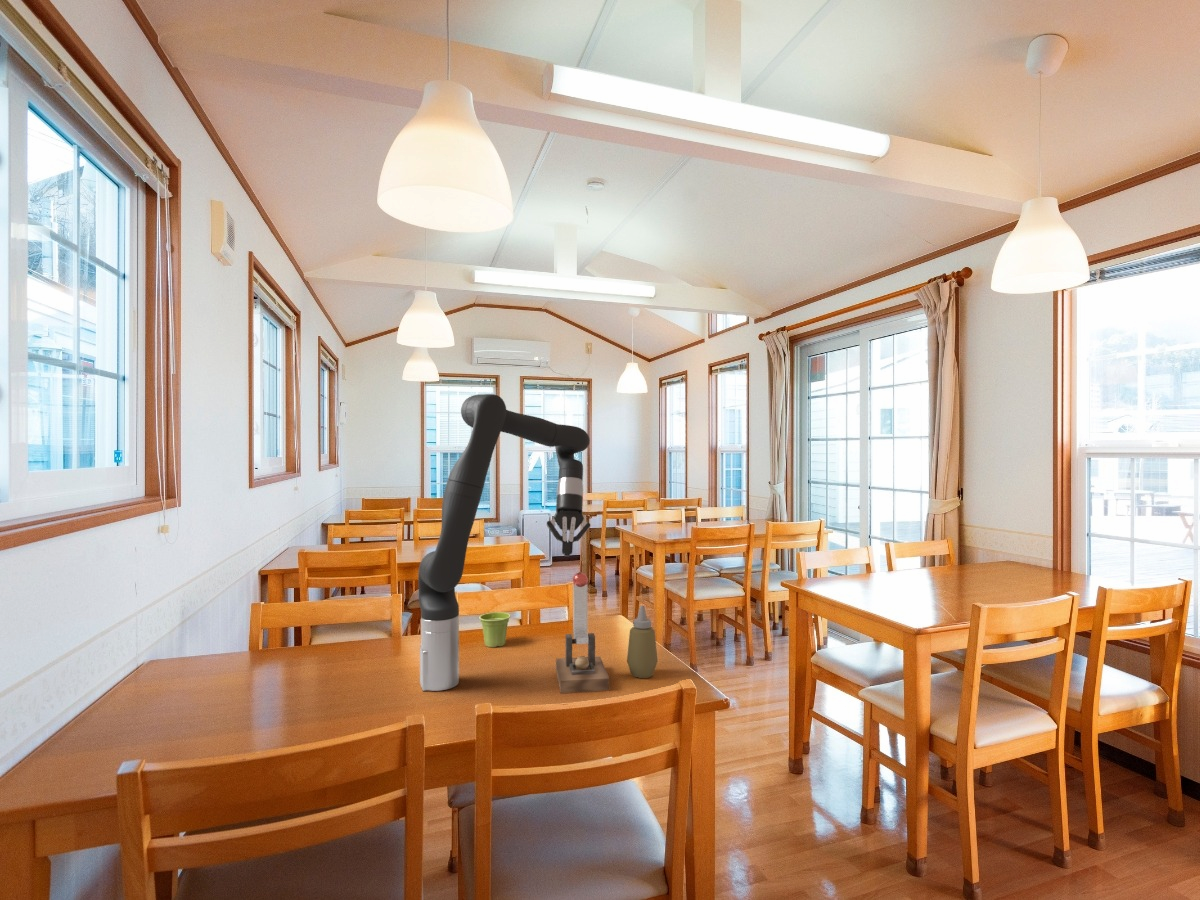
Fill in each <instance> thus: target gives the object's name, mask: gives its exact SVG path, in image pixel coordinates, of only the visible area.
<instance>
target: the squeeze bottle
mask: <svg viewBox="0 0 1200 900" xmlns="http://www.w3.org/2000/svg"><path fill="white" fill-rule="evenodd" d="M646 611H647V610H646V607H645V605H640V606H639V610H638V614H637V617H636V618H634V619H633V621H632V622H633V624H632V626H633V627H631V628H629V629H630V630H629V634H628V635H629V638H628V646H627V656H626V662H627V666H628V668H629V672H630V674H632V675H631V676H633V677H634V678H637V677H638V678H639V679H647V678H648V679H649V678H652V677H653V676H654V674H655V670H656V667H657V664H658V662H659V661H658V652H657V650H658V649H657V642H656V632H655V629H654V628H653V627H652V620H651V619H650V618H648V617H647V612H646Z"/></svg>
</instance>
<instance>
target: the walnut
mask: <svg viewBox="0 0 1200 900" xmlns="http://www.w3.org/2000/svg"><path fill="white" fill-rule="evenodd" d="M586 657H587V656H584V655H580V656H578V657H576V658H577V659H576V661H575V665H576V667H577V669H579V670H586V669H587V668H588V666H589V661H588V659H587V658H586Z"/></svg>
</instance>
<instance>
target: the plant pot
mask: <svg viewBox="0 0 1200 900" xmlns="http://www.w3.org/2000/svg"><path fill="white" fill-rule="evenodd" d="M478 617H479V618H478V619H479V620H480V623H481V627H482V633H483V640H484V641H483V642H484V645H485V646H486V647H487V648H495V647H503V646H504V645H506V640H507V639H506V638H507V632H508V623H509V621H510V618H511V615H510V613H508V612H502V611H497V612H488V613H484V614H481V615H479V616H478Z"/></svg>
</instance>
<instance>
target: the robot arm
mask: <svg viewBox="0 0 1200 900" xmlns="http://www.w3.org/2000/svg"><path fill="white" fill-rule="evenodd" d="M460 408H461V409H460V413H461V418H462V419H463V421H464V423H465V424H466V425H467V426H469V427H470V428H472V430H471V435H470V436H469V437H470V438H469V440H468V443H467V445H466V447H465V449H464V450H463V452H462V453H461V455H460V456H459V458H458V459H457V460H456V462H455V463H454V465H453V467H452V469H451V471H450V473H449V475H448V479H447V480H446V485H445V488H444V492H443V497H442V503H441V504H442V505H441V528H440V529H441V530H440V535H439V538H438V542H437V545H436V548H435V550H434V551H430V552H428V553H427V554H426V555H424V557H423V558H422V559H421V561H420V563H419V567H418V574H417V575H418V580H417V581H418V582H417V583H418V603H419V607H420V612H421V613H420V623H421V624H420V639H421V640H420V645H419V684H420V686H421V689H422V692H423V691H424V692H425V691H433V692H435V691H437V692H438V691H445V690H449V689H452V688H455V687H456V686H457V685H458V684H459V681H460V678H459V677H460V670H459V669H460V663H459V662H460V656H459V655H460V649H459V648H460V630H459V629H460V623H459V622H460V604H459V602H458V599H457V596H456V591H455V590H456V589H455V588H456V587H457V586H458V585H459V583H460V581H461V579H462V576H463V573H464V568H465V560H466V555H467V550H468V543H469V539H470V535H471V532H472V529H473V525H474V522H475V520H476V519H475V518H476V515H477V511H478V509H479V505H480V502H481V499H482V495H483V490H484V487H485V483H486V478H487V475H488V472H489V468H490V465H491V461H492V457H493V453H494V450H495V447H496V445H497V442H498V441H499V438H500V434H501V432H502V433H506V434H509V435H513V436H515V437H517V438H518V437H519V438H522V439H524V440H526V441H529V442H533V443H536V444H539V445H542V446H544V447H545V446H546V447H549V448H552V447H555V448H554V450H555V453H556V458H557V463H558V467H559V468H558V481H557V488H556V489H557V490H556V503H555V504H556V506H555V513H554V516H553V518H552V519H550V520H547V521H546V527H547V529H549V531H550V532H551V534H552V536H554V538H555V539H556V540H557V541H559V542H561V543H562V547H561V548H562V549H561V553H562V555H563V556H564V557H570V556H571V555H572V554H573V546H574V545H573V544H574V543H575V542H579V541H580V540H581V538H583V536H584V535H585V534H586V533H587V532H588V530H589V529H590V527H591V523H590V522H587V521H586V520H585V517H584V514H583V506H584V505H583V504H584V502H583V500H584V484H583V479H584V478H583V477H584V465H583V463H582V461H581V460H578V459H575V454H578V453H581V452H583V451H585V450H586V449H587V448H588V447H589V445H590V442H591V440H590V437H589V434H588V433H587V431H586V430H584V429H583V428H581V427H579V426H575V425H569V424H561V423H559V424H558V423H555V422H553V421H550V420H548V419H544V418H540V417H537V416H534V415H533V416H532V415H529V414H523V413H520V412H516V411H515V412H514V411H511V410H508V409H507V406H506V403H505V401H504V399H503V398H502V397H501V396H500V395H498V394H493V393H484V394H482V393H481V394H473V395H471V396H469V397H467V398H466V399H465V400H464V401H463V403H462V405H461V407H460ZM556 525H557V526H558V527H559V529H560V530H561V534H560V532H559V531H558V530H557V528H556ZM580 526H581V530H580V531H578V533H577V534H576V536H575V531H576V530H578V528H579V527H580ZM568 532H569V533H568Z"/></svg>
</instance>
